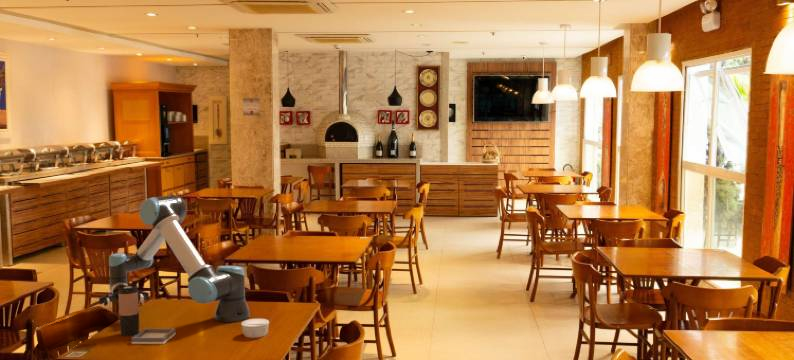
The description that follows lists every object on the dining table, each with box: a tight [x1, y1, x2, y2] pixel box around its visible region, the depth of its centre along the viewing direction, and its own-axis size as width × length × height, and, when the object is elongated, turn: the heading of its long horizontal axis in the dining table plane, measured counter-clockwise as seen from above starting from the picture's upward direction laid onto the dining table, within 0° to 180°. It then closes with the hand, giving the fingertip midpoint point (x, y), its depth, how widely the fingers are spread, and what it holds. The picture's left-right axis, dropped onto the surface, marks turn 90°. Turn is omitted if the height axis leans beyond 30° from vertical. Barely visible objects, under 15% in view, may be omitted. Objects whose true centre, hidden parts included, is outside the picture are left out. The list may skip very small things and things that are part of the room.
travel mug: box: [118, 283, 140, 337], centre depth 301 cm, size 8×8×20 cm
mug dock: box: [130, 328, 177, 345], centre depth 294 cm, size 13×13×2 cm
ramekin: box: [240, 318, 270, 339], centre depth 297 cm, size 11×11×5 cm
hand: (126, 302), depth 310 cm, fingers open, 13 cm apart
